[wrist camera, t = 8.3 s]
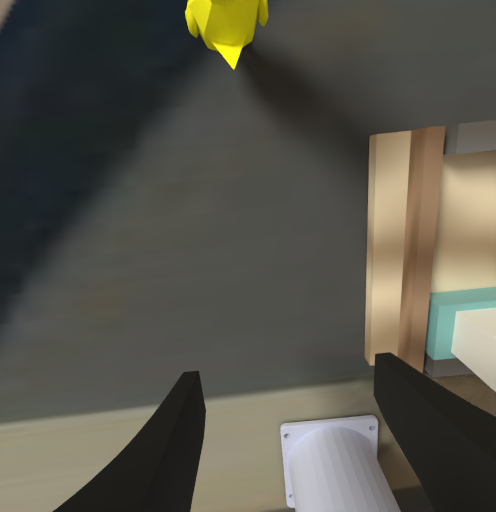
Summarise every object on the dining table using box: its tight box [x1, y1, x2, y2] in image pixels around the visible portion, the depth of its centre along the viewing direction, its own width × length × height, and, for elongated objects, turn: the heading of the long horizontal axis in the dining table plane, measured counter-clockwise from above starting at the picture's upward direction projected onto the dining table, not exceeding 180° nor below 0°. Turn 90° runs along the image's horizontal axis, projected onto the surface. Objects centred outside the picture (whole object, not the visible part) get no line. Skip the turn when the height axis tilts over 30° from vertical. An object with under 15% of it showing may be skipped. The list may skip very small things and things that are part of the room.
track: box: [365, 120, 496, 378], centre depth 19 cm, size 16×12×3 cm
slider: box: [425, 287, 496, 391], centre depth 18 cm, size 4×5×5 cm
